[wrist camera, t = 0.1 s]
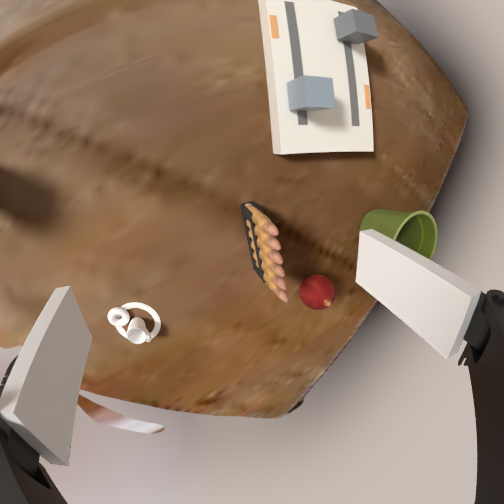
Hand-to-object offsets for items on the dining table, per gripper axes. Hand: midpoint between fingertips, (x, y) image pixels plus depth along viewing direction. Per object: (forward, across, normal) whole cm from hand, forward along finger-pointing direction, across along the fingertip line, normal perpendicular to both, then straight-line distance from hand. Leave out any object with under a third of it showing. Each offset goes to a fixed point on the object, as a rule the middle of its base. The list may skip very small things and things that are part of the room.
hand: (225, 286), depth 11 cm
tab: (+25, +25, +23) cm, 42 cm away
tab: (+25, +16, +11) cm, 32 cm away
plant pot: (+28, +32, -11) cm, 44 cm away
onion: (+28, +18, -19) cm, 38 cm away
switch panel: (+28, +21, +16) cm, 38 cm away
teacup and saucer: (+29, -11, -17) cm, 35 cm away
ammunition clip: (+28, +9, -9) cm, 31 cm away
